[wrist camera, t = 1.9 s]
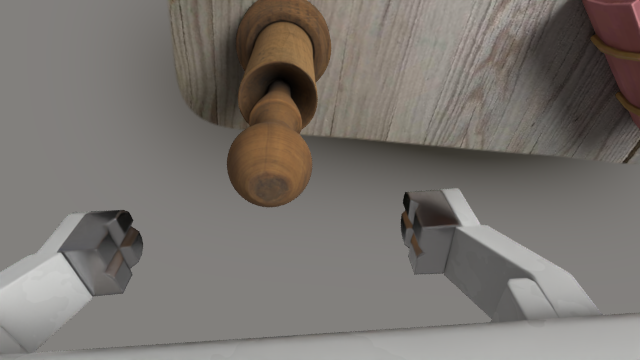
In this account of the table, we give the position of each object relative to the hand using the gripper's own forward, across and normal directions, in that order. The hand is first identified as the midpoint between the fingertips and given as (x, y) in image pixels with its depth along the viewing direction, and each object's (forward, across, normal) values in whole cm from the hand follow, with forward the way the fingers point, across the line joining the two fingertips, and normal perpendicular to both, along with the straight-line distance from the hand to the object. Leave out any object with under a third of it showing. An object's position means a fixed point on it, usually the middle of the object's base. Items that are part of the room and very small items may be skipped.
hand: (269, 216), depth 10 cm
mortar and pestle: (+20, 0, 0) cm, 20 cm away
